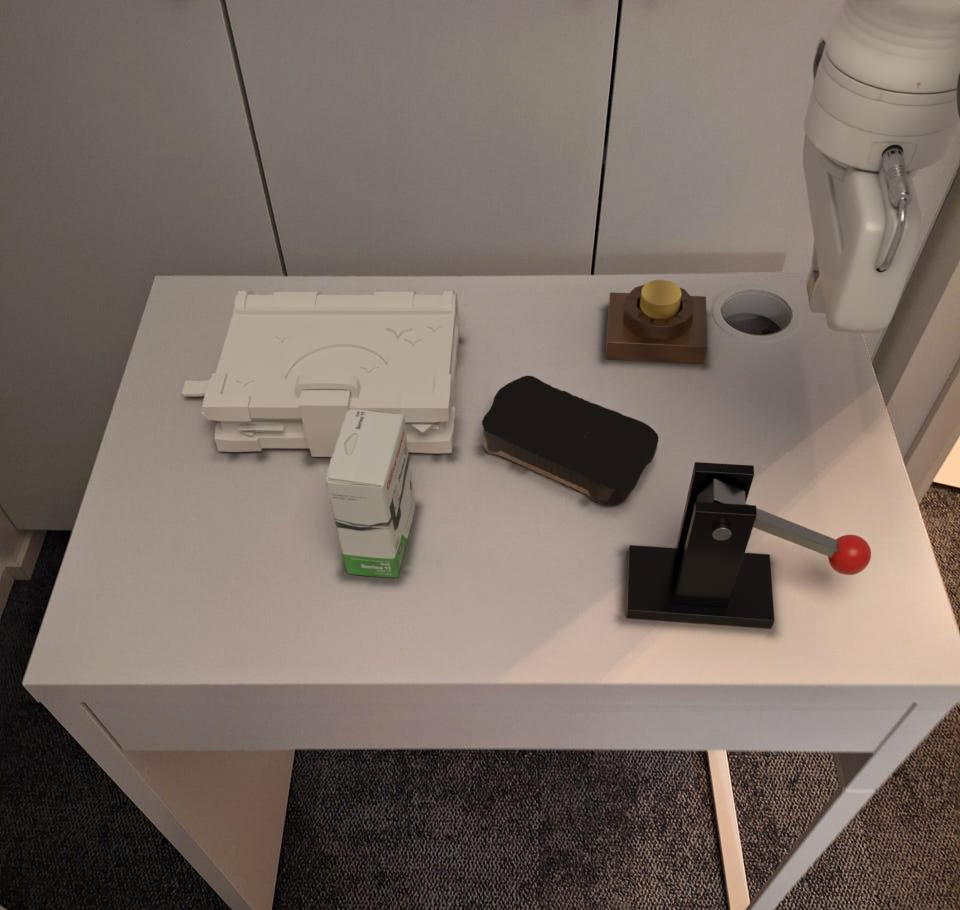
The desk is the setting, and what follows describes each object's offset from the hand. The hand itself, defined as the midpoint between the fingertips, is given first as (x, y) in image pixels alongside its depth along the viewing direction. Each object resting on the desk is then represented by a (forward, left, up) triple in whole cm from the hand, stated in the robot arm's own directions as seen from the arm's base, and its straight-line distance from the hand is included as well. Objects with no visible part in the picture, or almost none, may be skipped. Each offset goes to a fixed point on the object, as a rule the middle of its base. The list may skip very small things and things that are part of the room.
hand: (818, 300), depth 69 cm
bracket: (+5, +11, -21) cm, 25 cm away
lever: (+1, +11, -14) cm, 18 cm away
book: (+43, -11, -22) cm, 49 cm away
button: (+9, -22, -18) cm, 30 cm away
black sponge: (+17, -4, -22) cm, 28 cm away
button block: (+9, -22, -21) cm, 32 cm away
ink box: (+33, +8, -22) cm, 41 cm away
